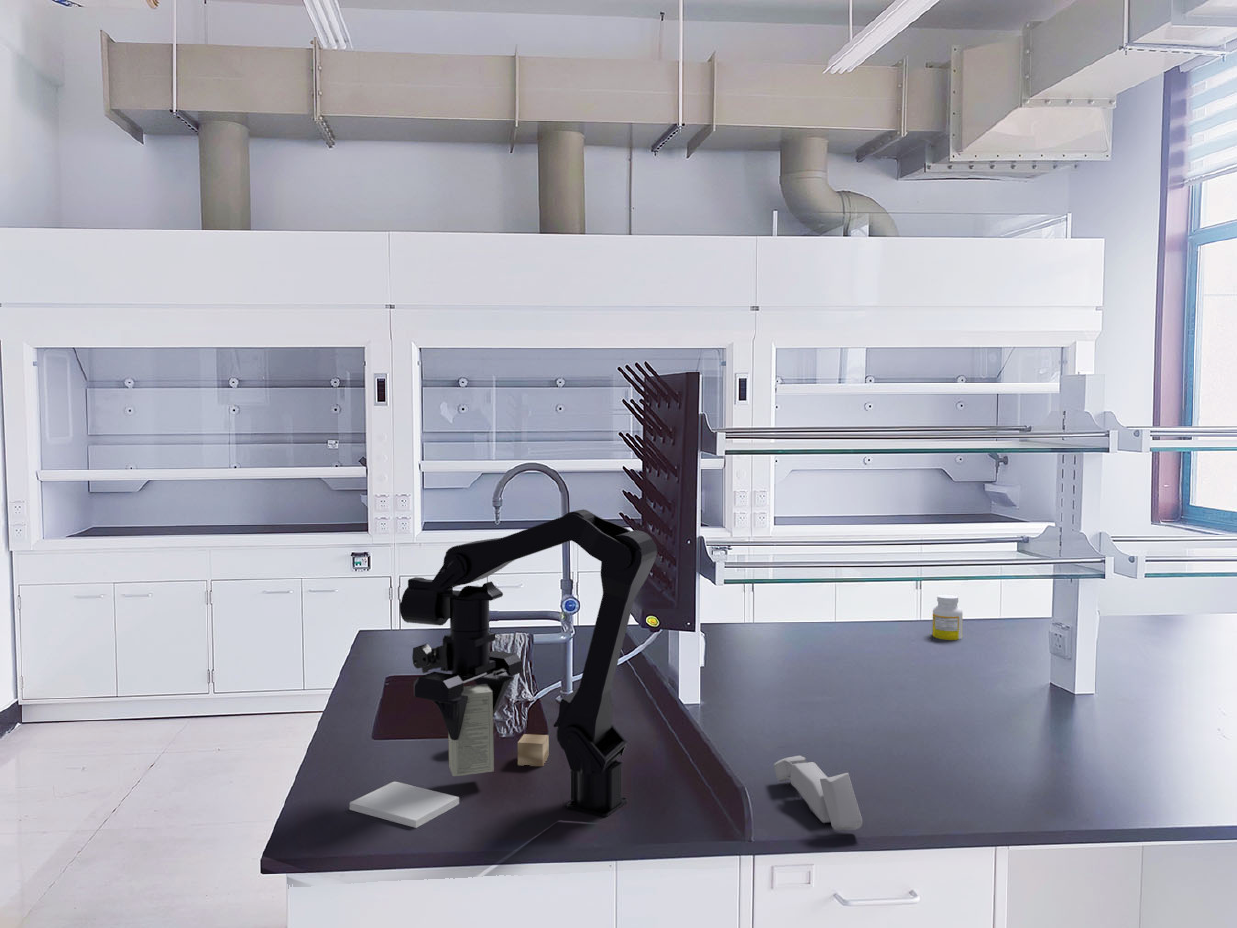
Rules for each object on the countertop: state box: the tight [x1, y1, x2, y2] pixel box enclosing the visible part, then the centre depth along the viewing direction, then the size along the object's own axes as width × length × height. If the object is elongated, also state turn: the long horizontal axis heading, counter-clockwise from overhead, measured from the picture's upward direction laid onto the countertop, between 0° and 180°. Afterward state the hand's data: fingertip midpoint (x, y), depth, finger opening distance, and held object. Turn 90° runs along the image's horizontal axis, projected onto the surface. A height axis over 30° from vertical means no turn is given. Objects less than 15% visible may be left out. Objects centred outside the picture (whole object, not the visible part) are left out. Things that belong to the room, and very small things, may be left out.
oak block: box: [517, 733, 550, 767], centre depth 151 cm, size 4×4×4 cm
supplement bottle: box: [932, 594, 964, 641], centre depth 225 cm, size 7×7×13 cm
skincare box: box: [447, 684, 495, 777], centre depth 141 cm, size 6×4×12 cm
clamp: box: [773, 755, 863, 832], centre depth 134 cm, size 20×4×7 cm, turn 15°
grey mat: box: [349, 781, 460, 829], centre depth 134 cm, size 12×9×1 cm
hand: (470, 732), depth 141 cm, fingers closed on skincare box, 7 cm apart
